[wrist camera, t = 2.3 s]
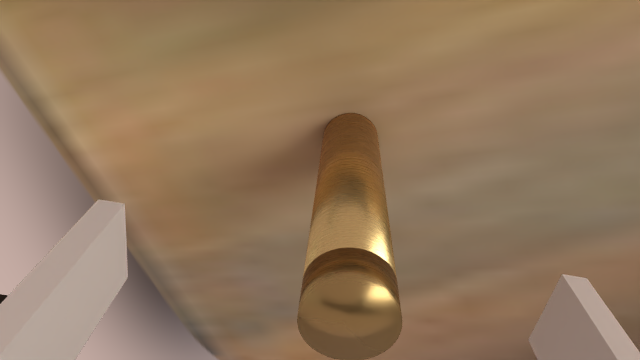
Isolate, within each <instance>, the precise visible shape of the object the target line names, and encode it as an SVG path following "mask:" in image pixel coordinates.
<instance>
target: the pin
mask: <svg viewBox="0 0 640 360" xmlns="http://www.w3.org/2000/svg"><path fill="white" fill-rule="evenodd" d="M297 323H298V329H299V331H300V334H301V336H302V337H303V339H304V340H305V341H306V343H307V344H308V345H309V346H310V347H312V348H313V349H314V350H316V351H317V352H319V353H321V354H323V355H325V356H328V357H331V358H334V359H339V360H364V359H368V358H372V357H374V356H377V355H379V354H381V353H383V352H385V351H386V350H387V349H389V348H390V347H391V346H392V345H393V344H394V343H395V342H396V340H397V339H398V337H399V335H400V332H401V329H402V316H401V308H400V300H399V293H398V285H397V278H396V270H395V263H394V255H393V248H392V240H391V233H390V225H389V218H388V210H387V203H386V195H385V187H384V180H383V172H382V165H381V157H380V150H379V142H378V135H377V131H376V128H375V126H374V125H373V123H372V122H371V121H370V120H369V119H367V118H366V117H364V116H362V115H360V114H356V113H346V114H342V115H339V116H337V117H335V118H334V119H333V120H331V121H330V122H329V124H328V125H327V127H326V129H325V131H324V136H323V143H322V150H321V157H320V164H319V171H318V178H317V185H316V191H315V198H314V205H313V212H312V219H311V226H310V233H309V240H308V247H307V254H306V261H305V268H304V275H303V282H302V289H301V296H300V303H299V309H298V317H297Z"/></svg>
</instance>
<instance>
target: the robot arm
mask: <svg viewBox="0 0 640 360" xmlns="http://www.w3.org/2000/svg"><path fill="white" fill-rule="evenodd" d="M127 278H128V269H127V245H126V220H125V204H123V203H117V202H111V201H105V200H99V199H98V200H97V201H96V203H95V204H94V205H93V206H92V207H91V208H90V209H89V210H88V211H87V212H86V213H85V215H83V216H82V218H81V219H80V220H79V221H78V222H77V223H76V224H75V225H74V226H73V227H72V228H71V229H70V230H69V231H68V233H67V234H66V235H65V236H64V237H63V238H62V239H61V240H60V241H59V242H58V243H57V244H56V245H55V246H54V247H53V248H52V249H51V251H50V252H49V253H48V254H47V255H46V256H45V257H44V258H43V259H42V260H41V261H40V262H39V263H38V265H36V267H35V268H34V269H33V270H32V271H31V272H30V273H29V274H28V275H27V276H26V277H25V278H24V279H23V280H22V282H21V283H20V284H19V285H18V286H17V287H16V288H15V289H14V290H13V291H12V292H11V293H10V294H9V295H8V296H7V295H1V294H0V360H75V359H76V358H77V356H78V355H79V353H80V352H81V350H82V348H83V347H84V345H85V344H86V342H87V341H88V339H89V337H90V336H91V334H92V333H93V331H94V329H95V328H96V326H97V325H98V323H99V322H100V320H101V319H102V317H103V315H104V314H105V312H106V311H107V309H108V308H109V306H110V304H111V303H112V301H113V300H114V298H115V297H116V295H117V293H118V292H119V290H120V289H121V287H122V285H123V284H124V282H125V281H126V279H127ZM528 340H529V342H530V344H531V347H532V349H533V351H534V353H535V355H536V357H537V360H640V352H639V351H638V349H637V348H636V347H635V345H634V344H633V342H632V341H631V340H630V338H629V337H628V335H627V334H626V332H625V331H624V330H623V328H622V327H621V325H620V324H619V323H618V321H617V320H616V318H615V317H614V316H613V314H612V313H611V311H610V310H609V309H608V307H607V306H606V304H605V303H604V302H603V300H602V299H601V297H600V296H599V295H598V293H597V292H596V290H595V289H594V288H593V286H592V285H591V283H590V282H589V281H588V279H587V278H583V277H577V276H571V275H564V274H562V275H561V277H560V279H559V281H558V283H557V285H556V287H555V289H554V291H553V293H552V295H551V297H550V298H549V300H548V302H547V304H546V306H545V308H544V310H543V312H542V314H541V316H540V318H539V320H538V322H537V324H536V326H535V328H534V329H533V331H532V333H531V335H530V337H529V339H528Z"/></svg>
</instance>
